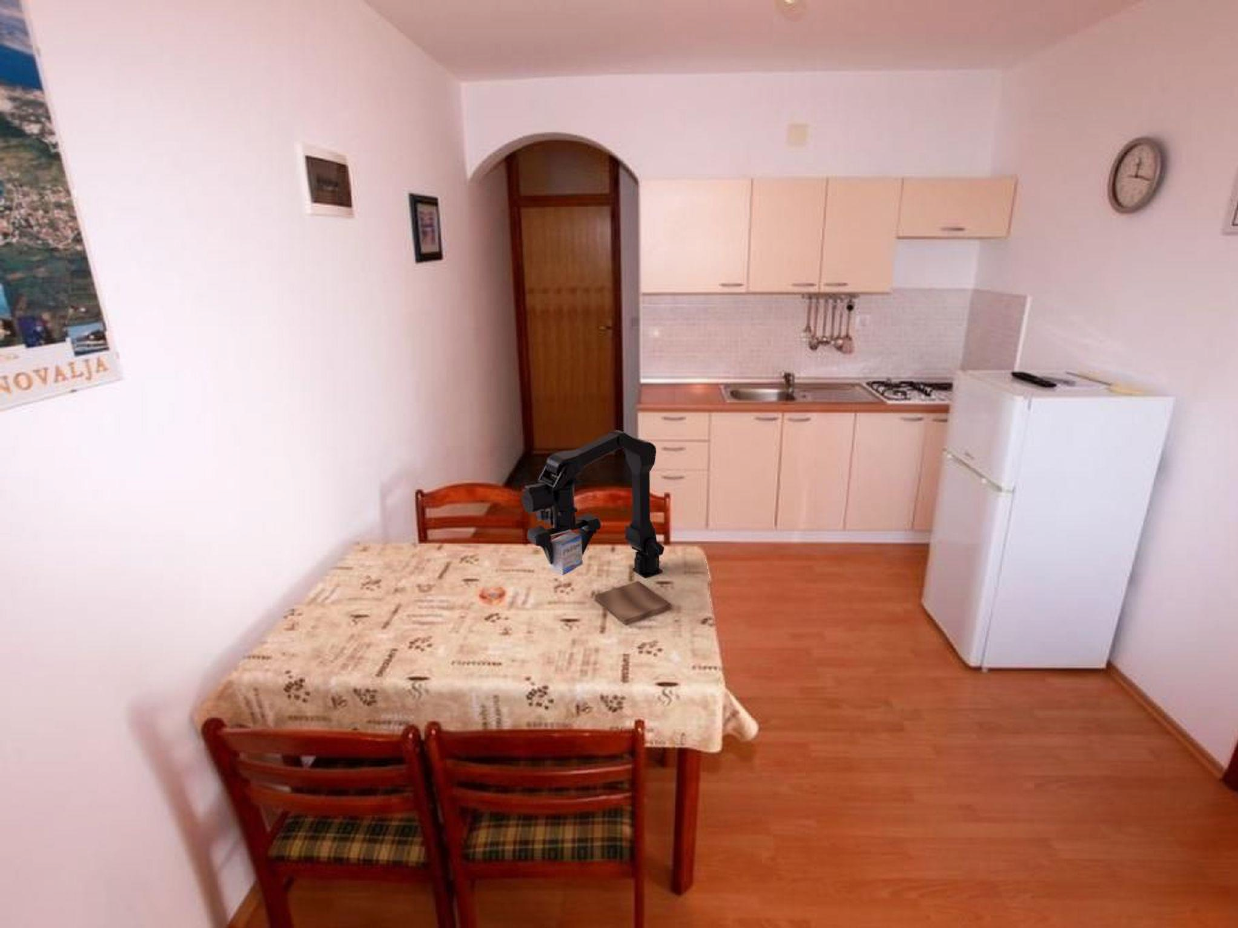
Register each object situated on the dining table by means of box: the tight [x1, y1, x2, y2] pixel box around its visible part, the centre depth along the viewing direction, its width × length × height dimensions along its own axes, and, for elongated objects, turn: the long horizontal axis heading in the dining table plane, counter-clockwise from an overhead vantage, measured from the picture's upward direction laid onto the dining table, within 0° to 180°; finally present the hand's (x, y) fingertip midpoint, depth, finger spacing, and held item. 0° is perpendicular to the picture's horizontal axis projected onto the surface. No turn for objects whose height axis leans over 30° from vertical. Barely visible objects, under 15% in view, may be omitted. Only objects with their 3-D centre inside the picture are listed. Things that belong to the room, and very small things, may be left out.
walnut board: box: [594, 580, 672, 626], centre depth 172 cm, size 14×15×2 cm
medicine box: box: [550, 531, 584, 576], centre depth 170 cm, size 8×4×9 cm, turn 142°
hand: (566, 559), depth 171 cm, fingers closed on medicine box, 9 cm apart
